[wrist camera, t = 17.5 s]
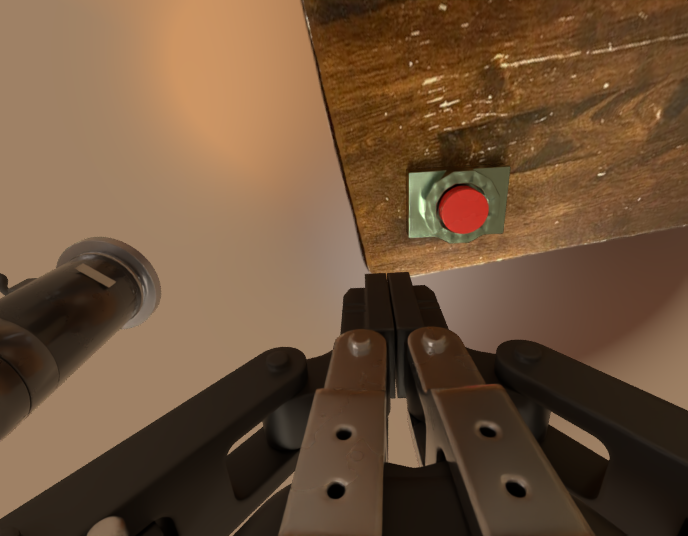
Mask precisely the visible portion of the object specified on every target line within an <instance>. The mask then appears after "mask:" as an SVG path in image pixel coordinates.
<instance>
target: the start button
mask: <svg viewBox="0 0 688 536" xmlns="http://www.w3.org/2000/svg"><path fill="white" fill-rule="evenodd" d="M488 211H489V206H488V202H487V200H486V198H485V197H484V195H483V194H481V193H480V192H479V191H477V190H476V189H475V188H473V187H470V186H457V187H454V188H452V189H451V190H449V191H448V192H447V193H446V194H445V195H444V196H443V197H442V199H441V201H440V204H439V215H440V218H441V220H442V221H443V223H444V224H445V226H446V227H447V228H448V229H449V230H451V231H452V232H455V233H458V234H467V233H471V232H473V231H475V230H477V229H478V228H479V227H481V226H482V225H483V223H484V222H485V220H486V218H487V216H488Z"/></svg>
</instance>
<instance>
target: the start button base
mask: <svg viewBox="0 0 688 536" xmlns="http://www.w3.org/2000/svg"><path fill="white" fill-rule="evenodd" d="M509 176H510V166H508V165H506V164H503V163H497V164H481V165H465V166H449V167H433V168H417V169H406V232H407V235H408V238H424V237H438V238H440V239H442V240H444V241H446V242H448V243H469V242H471V241H473V240H475V239H476V238H478V237H480V236H482V235H483V234H502V233H503V231H504V222H505V212H506V203H507V194H508V185H509ZM457 186H470V187H473V188H475V189H476V190H477V191H479V192H480V193H481V194H483V195H484V197H485V198H486V200H487V202H488V206H489V211H488V216H487V218H486V220H485V222H484V223H483V225H482V226H481V227H479V228H478V229H477V230H475V231H473V232H471V233H467V234H458V233H455V232H452V231H451V230H449V229H448V228H447V227H446V226H445V224H444V223H443V221H442V220H441V218H440V215H439V204H440V201H441V199H442V197H443V196H444V195H445V194H446V193H447V192H448V191H449V190H451V189H452V188H454V187H457Z"/></svg>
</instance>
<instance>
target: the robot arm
mask: <svg viewBox="0 0 688 536" xmlns="http://www.w3.org/2000/svg"><path fill="white" fill-rule="evenodd" d="M7 285H8V279H7V277H6V276H5V275H3V274H1V273H0V291H1V293H3V294H4V295H5V296H4V297H2V298H1V299H0V441H2V440H3V439H4V438H5V437H6V436H7V435H9V434H10V433H11V432H12V431H13V430H14V429H15V428H16V427H17V426H18V425H19V424H20V423H21V422H22V421H23V420H25V419H26V418H27V417H28V416H29V415H30V414H31V413H32V412H33V411H34V410H35V409H36V408H37V407H38V406H39V405H40V404H42V403H43V402H44V401H45V400H46V399H47V398H48V397H49V396H50V395H51V394H52V393H53V392H54V391H55V390H56V389H57V388H58V387H59V386H60V385H61V384H62V383H64V382H65V380H67V378H69V377H70V376H71V375H72V374H73V373H74V372H75V371H76V370H77V369H78V368H79V367H80V366H81V365H83V363H85V362H86V361H87V360H88V359H89V358H90V357H91V356H92V355H93V354H94V353H95V352H96V351H97V350H98V349H99V348H101V347H102V346H103V345H104V344H105V343H106V342H107V341H108V340H109V339H110V338H111V337H112V336H113V335H114V334H115V333H116V332H117V331H119V329H121V328H122V327H123V326H124V325H125V324H126V323H127V322H128V321H129V320H131V319H132V318H133V317H135V316H136V315H137V314H138V313H139V312H140V311H141V309H142V307H143V305H144V302H145V289H144V285H143V282H142V280H141V278H140V277H139V275H138V274H137V272H136V271H135V270H134V269H133V268H132V267H131V266H130V265H129V264H128V263H127V262H125V261H124V260H122V259H121V258H119V257H117V256H115V255H112V254H110V253H106V252H101V251H89V252H85V253H82V254H80V255H78V256H76V257H74V258H72V259H71V260H70V261H69V262H67V263H65V264H63V265H61V266H60V267H58V268H56V269H54V270H52V271H50V272H49V273H47V274H45V275H43V276H41V277H39V278H32V279H26V280H24V281H22V282H21V283H19V284H17V285H15V286H13V287H11V288H8V287H7ZM395 380H396V388H397V396H398V398H406V399H407V409H408V410H407V420H408V425H409V429H410V433H411V437H412V441H413V445H414V449H415V453H416V457H417V461H418V465H419V467H418V468H411V467H406V466H402V465H397V464H392V463H388V415H389V413H390V398H395ZM551 412H553V413H555V414H557V415H558V416H560V417H562V418H564V419H565V420H567V421H569V422H571V423H572V424H574V425H576V426H578V427H579V428H581V429H583V430H584V431H586V432H588V433H589V434H591V435H593V436H595V437H596V438H597V439H599V440H600V441H601V442H602V443H603V444H604V446H605V447H606V449H607V450H608V452H609V456H610V460H607V459H605V458H603V457H602V456H600V455H598V454H597V453H595V452H593V451H592V450H590V449H588V448H587V447H585V446H584V445H582V444H580V443H579V442H577V441H575V440H574V439H572V438H570V437H569V436H567V435H565V434H564V433H562V432H560V431H559V430H557V429H555V428H554V427H552V426H550V425H549V424H548V423H549V418H550V413H551ZM260 422H263V427H262V428H261V429H260V430H258V431H257V432H256V433H255V434H253V435H252V436H251V437H250V438H248V439H247V440H246V441H245V442H243V443H242V444H241V445H240V446H239V447H238V448H236V449H235V450H234V451H232V452H231V453H230V454H229V455H227V454H228V451H229V450H230V448H231V447H232V445H233V444H234V443H235V442H236V441H238V440H239V439H240V438H241V437H243V436H244V435H245V434H246V433H248V432H249V431H250V430H251V429H252V428H254V427H255V426H257V425H258V424H259V423H260ZM294 471H295V473H294V477H293V481H292V484H290V485H288V486H286V487H285V488H283V489H282V490H280V491H279V492H277V493H276V494H275V495H273V496H272V497H271V498H270V499H268V500H267V501H266V502H265V503H264V504H263V505H262V506H261V507H260V508H259V509H258V510H257V511H256V512H255V513H254V514H253V515H252V516H251V517H250V518H249V520H248V521H247V522H246V523H245V524H244V525H243V526H242V527H241V528H240V529H239V530H238V531H237V532H236V533H235V534H234V535H233V536H688V411H687V410H685V409H683V408H681V407H678V406H676V405H674V404H672V403H670V402H668V401H665V400H663V399H661V398H659V397H656V396H654V395H652V394H650V393H648V392H645V391H643V390H641V389H639V388H637V387H634V386H632V385H630V384H628V383H625V382H623V381H621V380H619V379H617V378H614V377H612V376H610V375H607V374H605V373H603V372H601V371H599V370H596V369H594V368H592V367H590V366H588V365H586V364H583V363H581V362H579V361H577V360H575V359H572V358H570V357H568V356H566V355H564V354H561V353H559V352H557V351H555V350H552V349H550V348H548V347H546V346H544V345H541V344H539V343H536V342H532V341H527V340H510V341H506V342H503V343H502V344H500V345H499V346H498V348H497V350H496V354H492V353H486V352H480V351H476V350H472V349H469V348H466V347H465V346H464V344H463V342H462V341H461V339H460V337H459V336H458V335H457V334H455V333H454V332H452V331H450V330H449V329H448V326H447V324H446V321H445V319H444V316H443V314H442V311H441V309H440V306H439V304H438V302H437V299H436V296H435V293H434V292H433V291H432V290H431V289H429V288H428V287H427V286H425V285H416V286H413V285H412V282H411V279H410V275H409V272H397V273H387V278H386V273H377V274H365V288H351V289H349V290H348V292H347V293H346V294H345V295H344V297H343V310H342V322H341V334H340V336H339V337H338V338H337V339H336V340H335V343H334V347H333V350H331V351H330V352H328V353H326V354H324V355H322V356H318V357H315V358H311V359H307V360H306V357H305V355H304V353H303V352H301V351H300V350H298V349H296V348H292V347H278V348H273V349H270V350H268V351H265V352H263V353H262V354H260V355H258V356H257V357H255V358H254V359H252V360H250V361H249V362H247V363H246V364H245V365H243V366H241V367H239V368H238V369H236V370H235V371H233V372H232V373H230V374H228V375H227V376H225V377H224V378H222V379H221V380H219V381H217V382H216V383H214V384H213V385H211V386H210V387H208V388H206V389H205V390H203V391H202V392H200V393H198V394H197V395H195V396H194V397H192V398H191V399H189V400H187V401H186V402H184V403H183V404H181V405H180V406H178V407H176V408H175V409H173V410H172V411H170V412H168V413H167V414H165V415H164V416H162V417H161V418H159V419H157V420H156V421H154V422H153V423H151V424H150V425H148V426H146V427H145V428H143V429H142V430H140V431H139V432H137V433H135V434H134V435H132V436H131V437H129V438H128V439H126V440H124V441H123V442H121V443H120V444H118V445H116V446H115V447H113V448H112V449H110V450H108V451H107V452H105V453H104V454H102V455H101V456H99V457H97V458H96V459H94V460H93V461H91V462H90V463H88V464H86V465H85V466H83V467H82V468H80V469H79V470H77V471H75V472H74V473H72V474H71V475H69V476H68V477H66V478H64V479H63V480H61V481H60V482H58V483H56V484H55V485H53V486H52V487H50V488H49V489H47V490H45V491H44V492H42V493H41V494H39V495H38V496H36V497H34V498H33V499H31V500H30V501H28V502H27V503H25V504H23V505H22V506H20V507H19V508H17V509H15V510H14V511H12V512H11V513H9V514H8V515H6V516H4V517H3V518H1V519H0V536H229V535H230V534H231V533H232V532H233V531H234V530H235V529H236V528H237V527H238V526H239V525H240V524H241V523H242V522H243V521H244V520H245V519H246V518H247V517H248V516H249V515H250V514H251V513H252V512H253V511H254V510H255V509H256V508H257V507H258V506H260V504H262V503H263V502H264V501H265V500H266V498H267V497H269V496H270V495H271V494H272V493H273V492H274V491H275V490H276V489H277V488H278V487H279V486H280V485H281V484H282V483H283V482H284V481H285V480H286V479H287V478H288V477H289V476H290V475H291V474H292V473H293V472H294Z"/></svg>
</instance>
